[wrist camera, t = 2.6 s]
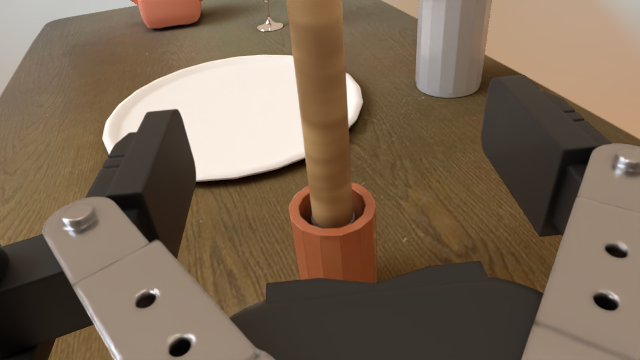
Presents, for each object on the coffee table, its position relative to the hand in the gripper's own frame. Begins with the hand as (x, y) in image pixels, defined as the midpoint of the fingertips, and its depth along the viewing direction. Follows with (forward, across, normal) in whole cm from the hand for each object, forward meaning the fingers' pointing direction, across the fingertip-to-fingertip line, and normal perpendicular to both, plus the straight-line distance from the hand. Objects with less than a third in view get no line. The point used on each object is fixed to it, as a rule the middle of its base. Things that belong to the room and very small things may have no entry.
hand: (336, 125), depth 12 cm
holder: (+10, 0, +18) cm, 21 cm away
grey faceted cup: (+39, -16, +18) cm, 46 cm away
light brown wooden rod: (+10, 0, +18) cm, 21 cm away
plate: (+38, +9, +19) cm, 43 cm away
